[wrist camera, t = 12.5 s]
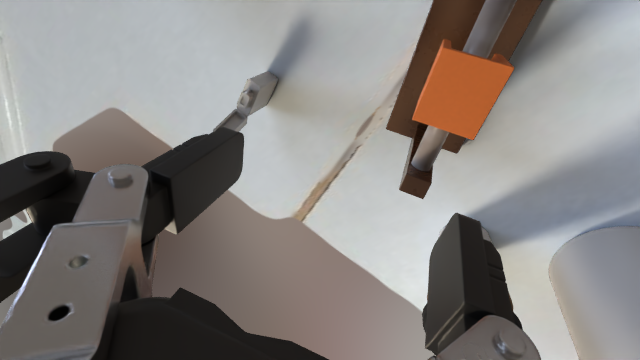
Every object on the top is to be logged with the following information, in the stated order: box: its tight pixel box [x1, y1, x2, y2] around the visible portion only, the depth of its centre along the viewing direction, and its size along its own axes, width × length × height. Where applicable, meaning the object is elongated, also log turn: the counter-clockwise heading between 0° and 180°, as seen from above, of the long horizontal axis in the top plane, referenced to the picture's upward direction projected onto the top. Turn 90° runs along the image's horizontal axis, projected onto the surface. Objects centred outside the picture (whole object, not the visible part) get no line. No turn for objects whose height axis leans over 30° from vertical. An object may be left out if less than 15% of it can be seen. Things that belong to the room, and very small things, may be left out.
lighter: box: [213, 72, 278, 132], centre depth 35 cm, size 7×2×8 cm, turn 150°
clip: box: [412, 39, 514, 140], centre depth 22 cm, size 4×5×5 cm
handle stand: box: [386, 0, 542, 199], centre depth 24 cm, size 8×16×12 cm, turn 168°
